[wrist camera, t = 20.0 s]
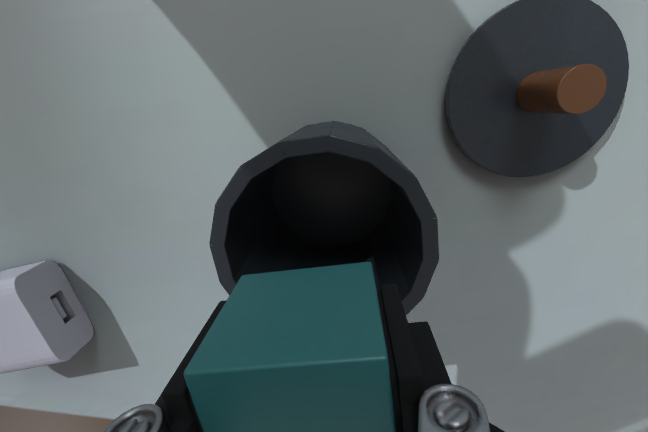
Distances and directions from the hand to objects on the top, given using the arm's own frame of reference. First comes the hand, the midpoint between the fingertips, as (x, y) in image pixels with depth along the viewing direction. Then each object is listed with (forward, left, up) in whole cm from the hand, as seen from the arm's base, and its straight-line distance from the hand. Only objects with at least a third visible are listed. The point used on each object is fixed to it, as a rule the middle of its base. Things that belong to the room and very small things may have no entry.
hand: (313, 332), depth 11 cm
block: (0, 0, -1) cm, 1 cm away
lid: (-12, +12, -18) cm, 25 cm away
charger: (+22, -28, -19) cm, 40 cm away
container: (0, 0, -19) cm, 19 cm away
